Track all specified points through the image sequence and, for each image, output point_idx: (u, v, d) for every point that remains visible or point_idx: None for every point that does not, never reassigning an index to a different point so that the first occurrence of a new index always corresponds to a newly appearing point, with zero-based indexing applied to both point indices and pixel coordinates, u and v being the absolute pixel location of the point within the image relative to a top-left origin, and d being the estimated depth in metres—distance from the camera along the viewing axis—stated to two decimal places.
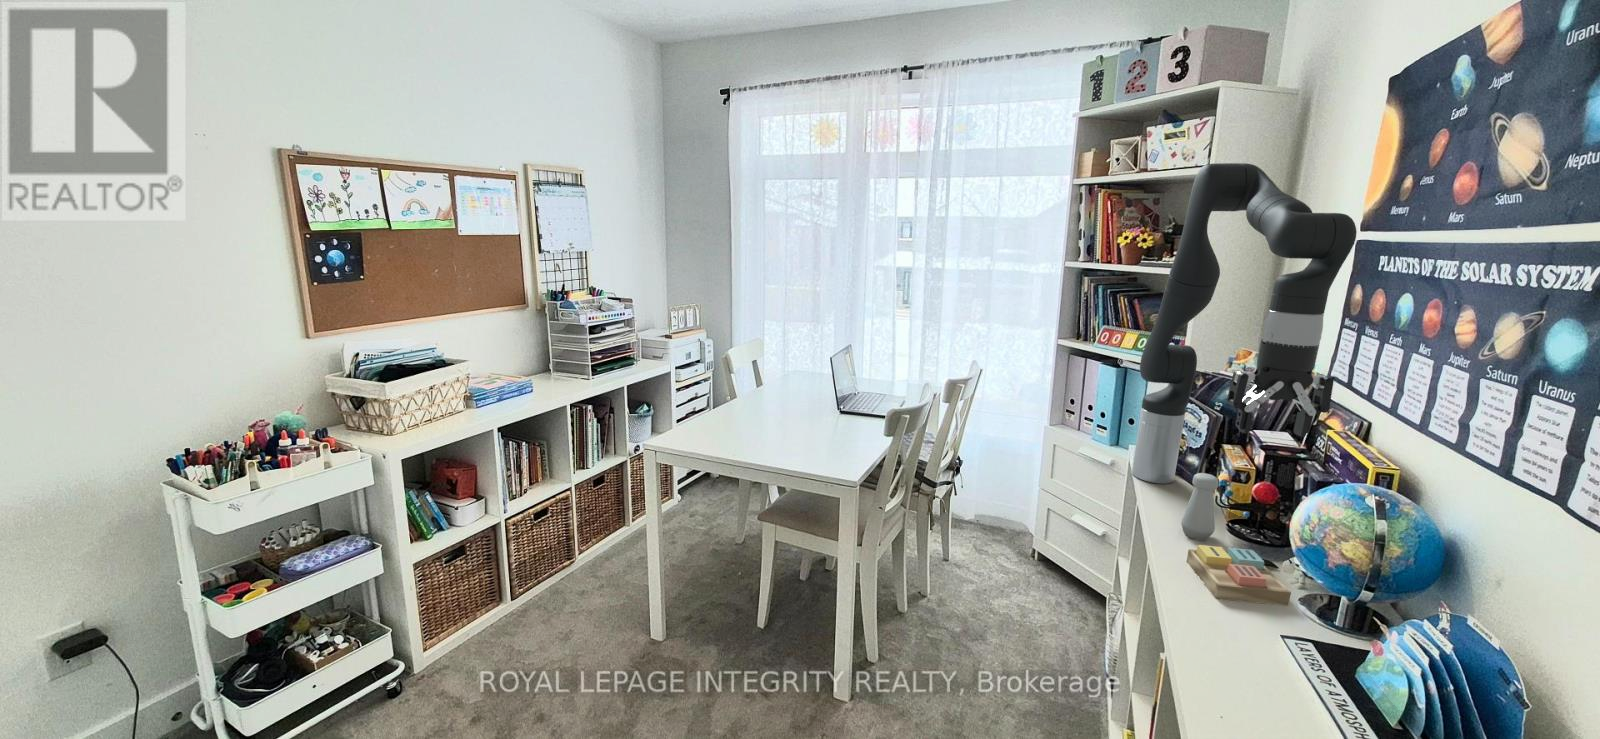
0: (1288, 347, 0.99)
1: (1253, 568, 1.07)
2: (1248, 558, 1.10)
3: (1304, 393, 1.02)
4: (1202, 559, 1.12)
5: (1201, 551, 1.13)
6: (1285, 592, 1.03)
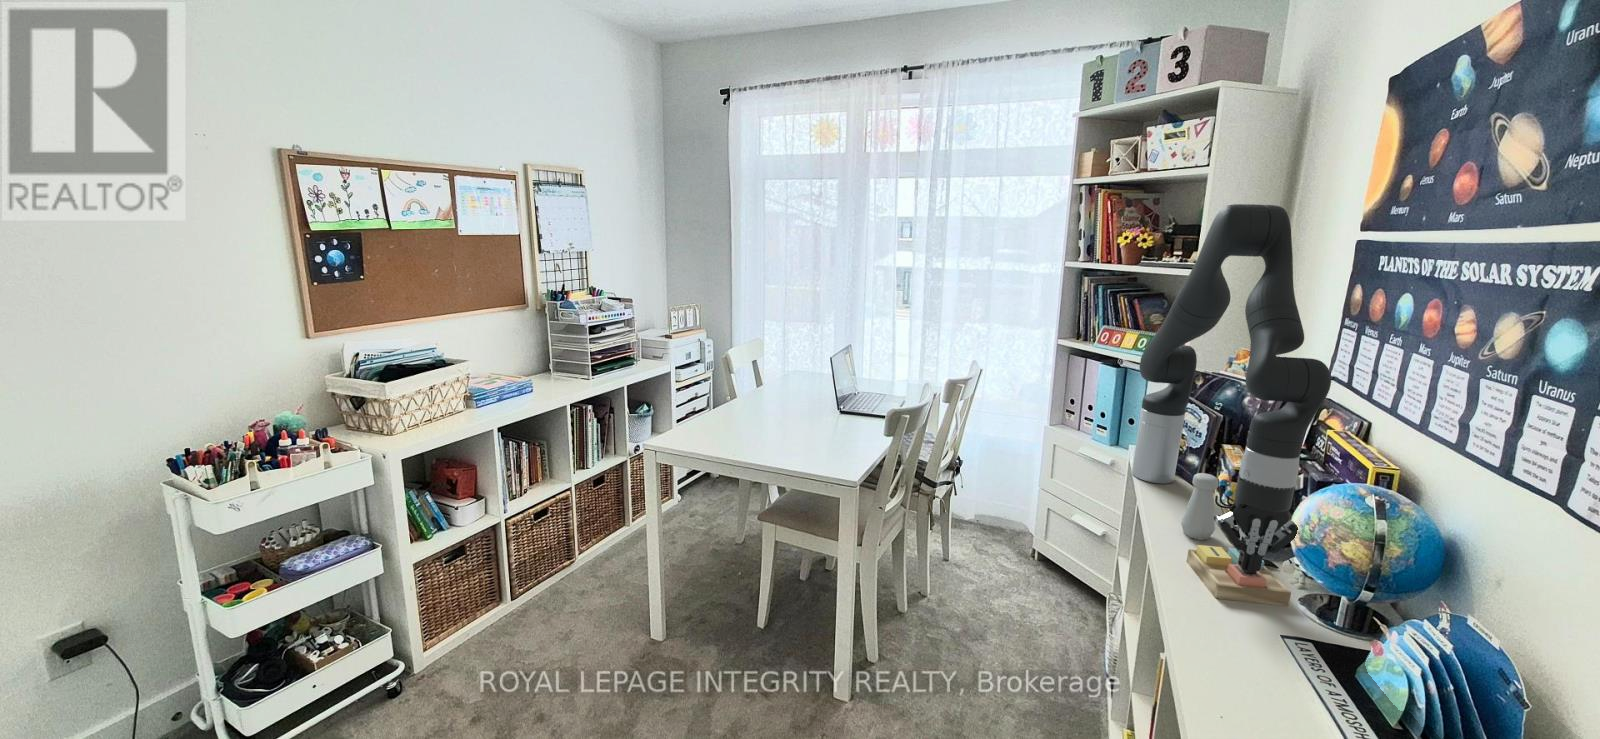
0: (1264, 488, 0.99)
1: None
2: None
3: (1272, 533, 1.02)
4: (1202, 559, 1.12)
5: (1201, 551, 1.13)
6: (1285, 592, 1.03)
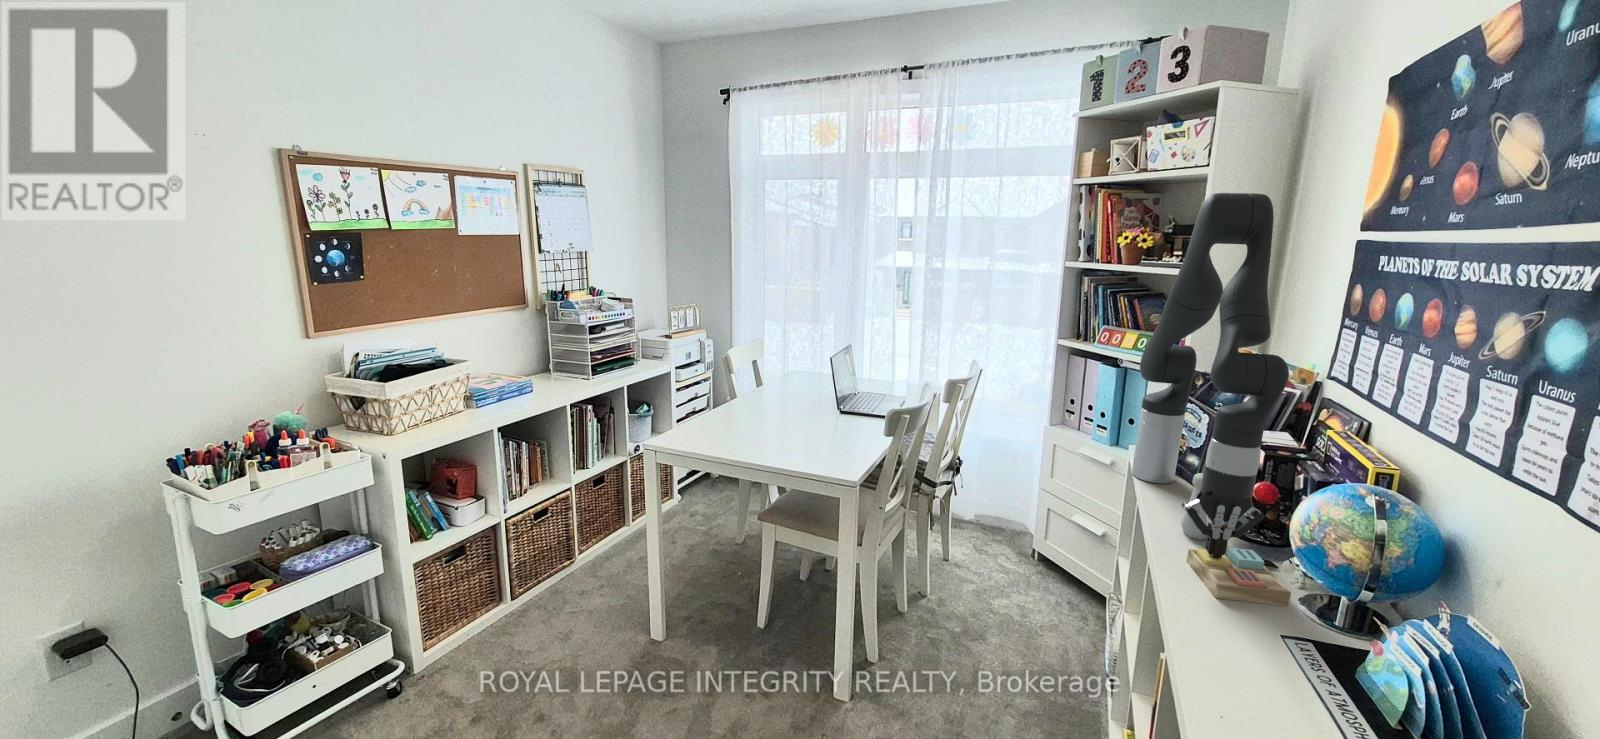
0: (1227, 476, 1.06)
1: (1252, 572, 1.08)
2: (1248, 558, 1.10)
3: (1235, 519, 1.09)
4: None
5: (1200, 555, 1.13)
6: (1285, 592, 1.03)
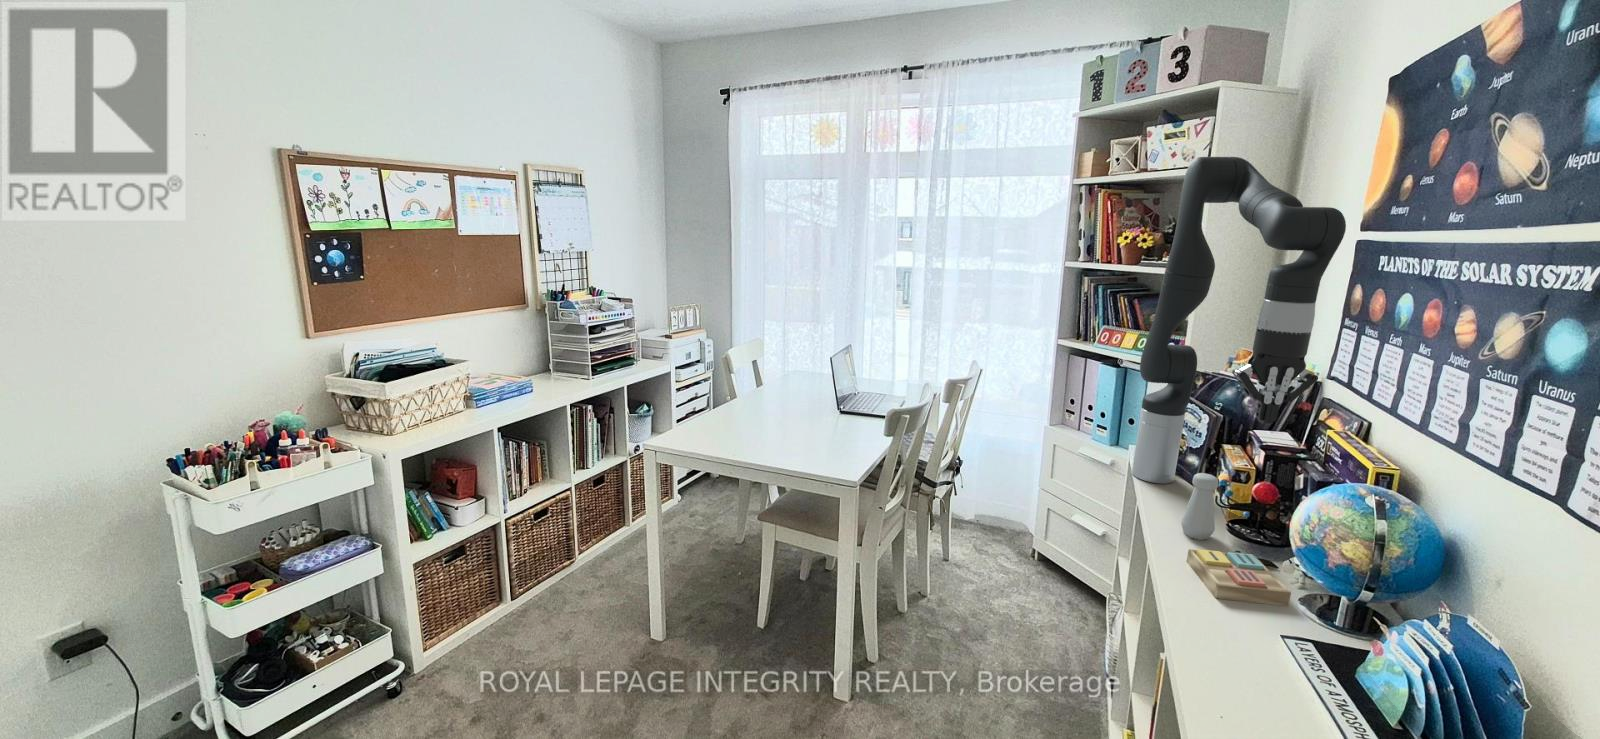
0: (1282, 334, 1.05)
1: (1252, 572, 1.08)
2: (1247, 562, 1.11)
3: (1288, 381, 1.08)
4: None
5: (1200, 555, 1.13)
6: (1285, 592, 1.03)
